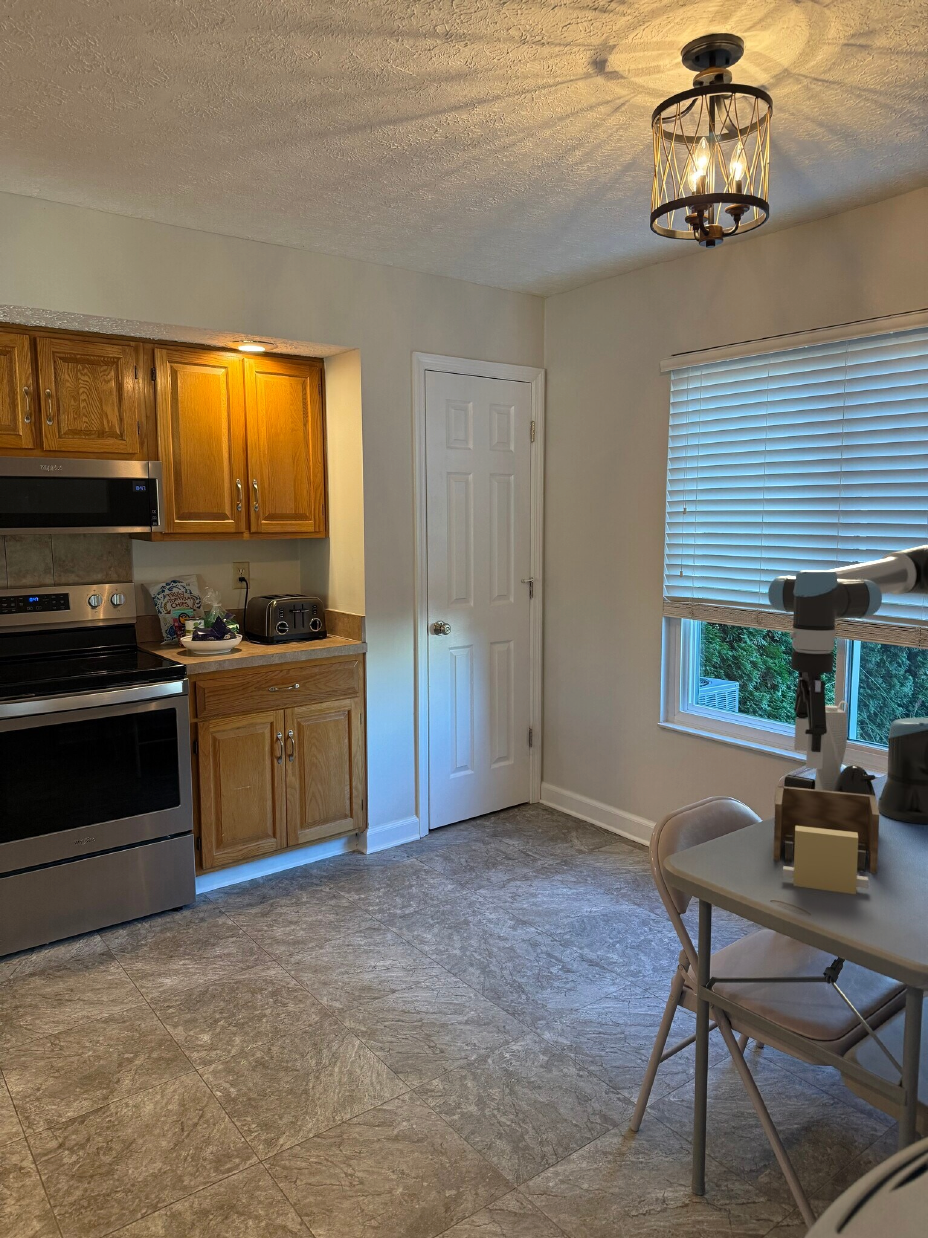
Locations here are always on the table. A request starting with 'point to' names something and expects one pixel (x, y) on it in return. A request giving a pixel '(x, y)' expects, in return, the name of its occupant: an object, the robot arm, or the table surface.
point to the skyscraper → (832, 747)
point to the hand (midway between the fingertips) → (807, 759)
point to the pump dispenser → (854, 781)
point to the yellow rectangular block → (825, 860)
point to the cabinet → (827, 819)
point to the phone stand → (799, 782)
